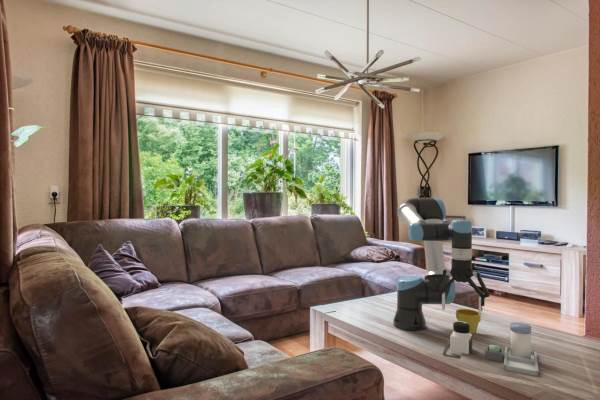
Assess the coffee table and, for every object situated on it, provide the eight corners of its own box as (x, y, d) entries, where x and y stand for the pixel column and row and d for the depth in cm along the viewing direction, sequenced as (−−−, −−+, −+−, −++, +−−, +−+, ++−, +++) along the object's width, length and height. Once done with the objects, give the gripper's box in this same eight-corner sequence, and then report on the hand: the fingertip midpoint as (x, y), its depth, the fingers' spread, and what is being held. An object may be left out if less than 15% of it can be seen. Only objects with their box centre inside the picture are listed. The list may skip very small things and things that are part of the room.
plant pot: (480, 331, 181) (480, 310, 181) (480, 338, 172) (480, 316, 172) (456, 328, 186) (456, 307, 186) (455, 335, 176) (455, 313, 176)
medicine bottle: (469, 357, 152) (469, 326, 152) (450, 353, 156) (450, 323, 156) (472, 351, 158) (472, 321, 158) (453, 347, 162) (453, 318, 162)
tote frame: (442, 355, 154) (442, 354, 154) (447, 344, 166) (447, 343, 166) (477, 361, 148) (477, 360, 148) (479, 350, 159) (479, 349, 159)
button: (488, 355, 149) (488, 347, 149) (489, 351, 152) (489, 344, 152) (499, 356, 147) (499, 348, 147) (499, 353, 150) (499, 345, 150)
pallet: (483, 370, 141) (483, 358, 141) (487, 349, 160) (487, 338, 160) (542, 381, 132) (542, 369, 132) (539, 357, 152) (539, 346, 152)
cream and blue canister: (509, 358, 148) (510, 326, 148) (510, 351, 154) (510, 321, 154) (531, 362, 145) (531, 329, 145) (531, 355, 151) (531, 324, 151)
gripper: (427, 257, 159) (427, 309, 159) (495, 262, 147) (495, 318, 147) (430, 255, 166) (430, 305, 166) (496, 259, 154) (496, 313, 154)
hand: (461, 311), depth 157 cm, fingers open, 13 cm apart
